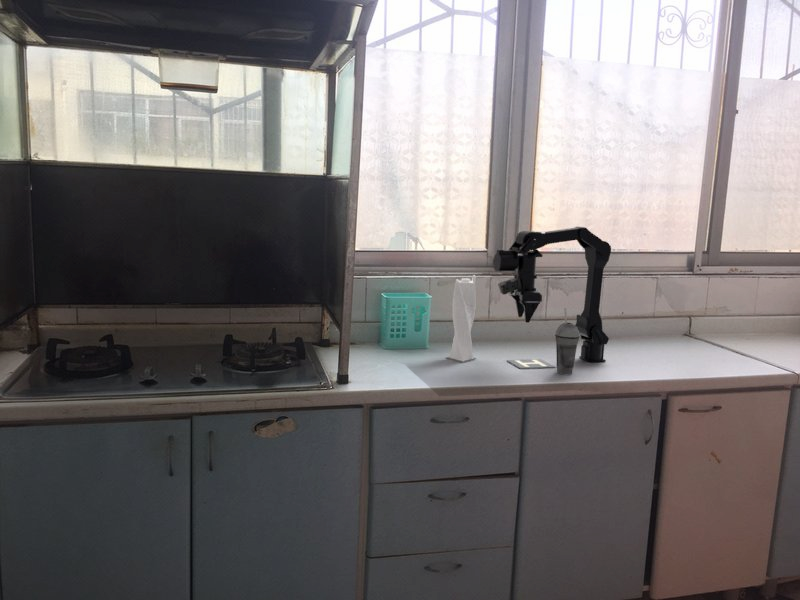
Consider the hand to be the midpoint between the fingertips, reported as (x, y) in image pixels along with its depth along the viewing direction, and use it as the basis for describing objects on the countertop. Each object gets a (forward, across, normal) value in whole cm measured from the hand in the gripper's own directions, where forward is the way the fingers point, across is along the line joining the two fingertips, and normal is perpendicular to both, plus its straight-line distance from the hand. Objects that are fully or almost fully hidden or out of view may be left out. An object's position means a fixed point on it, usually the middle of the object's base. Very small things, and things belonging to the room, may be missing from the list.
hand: (523, 319), depth 220 cm
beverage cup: (+14, +12, +10) cm, 22 cm away
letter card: (+14, +3, +2) cm, 15 cm away
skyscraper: (+14, -2, -19) cm, 24 cm away
